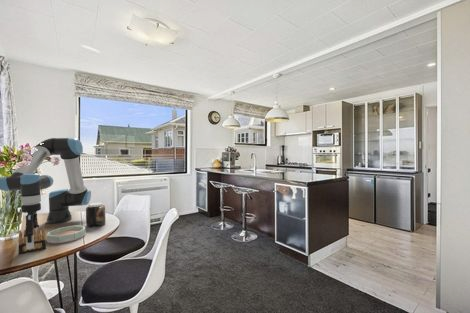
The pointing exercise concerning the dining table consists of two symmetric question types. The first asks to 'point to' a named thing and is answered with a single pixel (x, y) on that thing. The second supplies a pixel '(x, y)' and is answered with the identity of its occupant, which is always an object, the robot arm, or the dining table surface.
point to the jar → (95, 215)
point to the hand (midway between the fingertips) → (32, 244)
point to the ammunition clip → (37, 242)
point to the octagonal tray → (66, 234)
